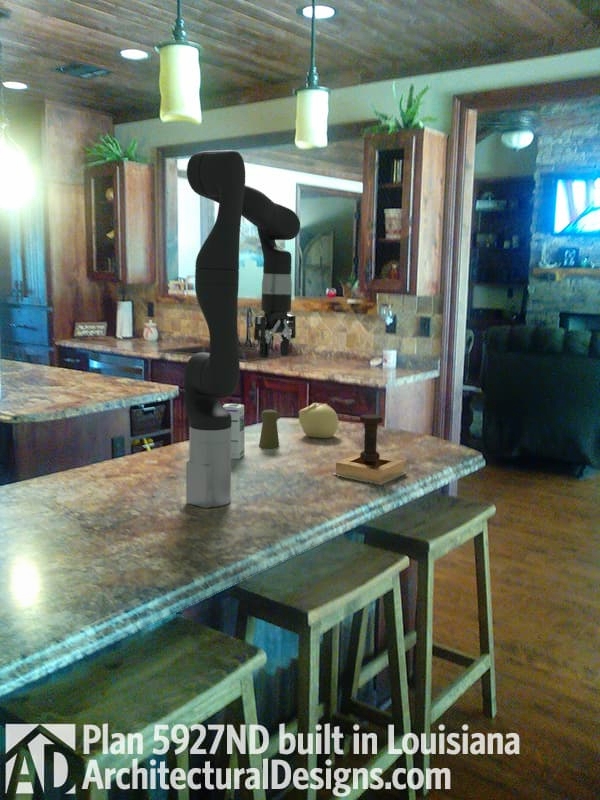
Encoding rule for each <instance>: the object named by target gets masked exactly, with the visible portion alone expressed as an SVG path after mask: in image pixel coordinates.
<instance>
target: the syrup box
mask: <svg viewBox="0 0 600 800" xmlns="http://www.w3.org/2000/svg"><path fill="white" fill-rule="evenodd" d="M222 406H223V407H224V408H225V409H226V410H227V411H228V412H229V413H230V414H231V419H232V424H231V460H240V459H241V458H242V457H243V456H244V455H245V405H244V404H242V403H224V404H223V405H222Z"/></svg>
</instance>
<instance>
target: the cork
mask: <svg viewBox="0 0 600 800" xmlns="http://www.w3.org/2000/svg"><path fill="white" fill-rule="evenodd" d="M260 418H261V420H262V424H261V432H260V438H259V444H258V447H259V448H261V449H266V450H274V448H276V449H279V448H280V442H279V441H280V440H279V433H278V432H279V431H278V424H277V421H278V420H279V412H278V411H277V410H275V409H264V410H262V412H261V414H260ZM278 447H279V448H278Z"/></svg>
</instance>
